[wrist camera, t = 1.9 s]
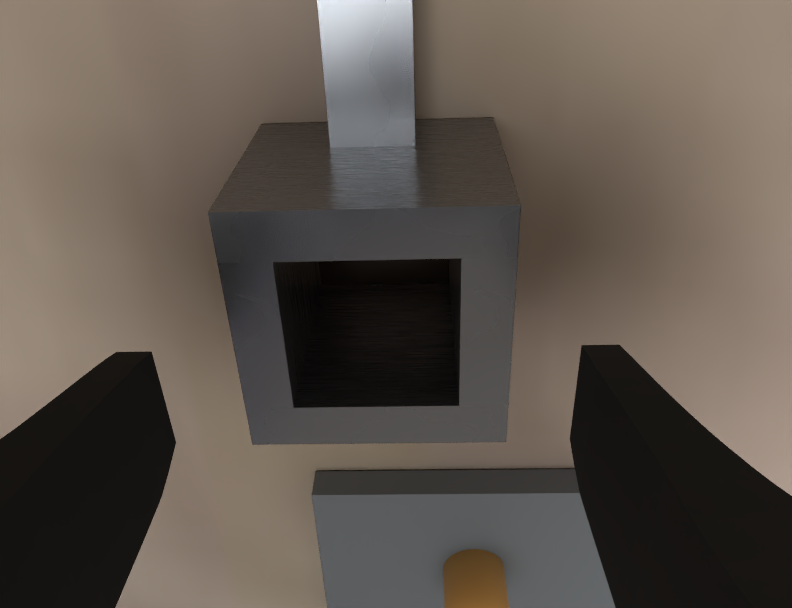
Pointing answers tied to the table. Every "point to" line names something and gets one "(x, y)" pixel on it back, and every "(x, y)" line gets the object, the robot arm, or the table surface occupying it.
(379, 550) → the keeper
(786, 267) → the table surface
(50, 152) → the table surface
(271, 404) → the link
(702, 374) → the table surface
